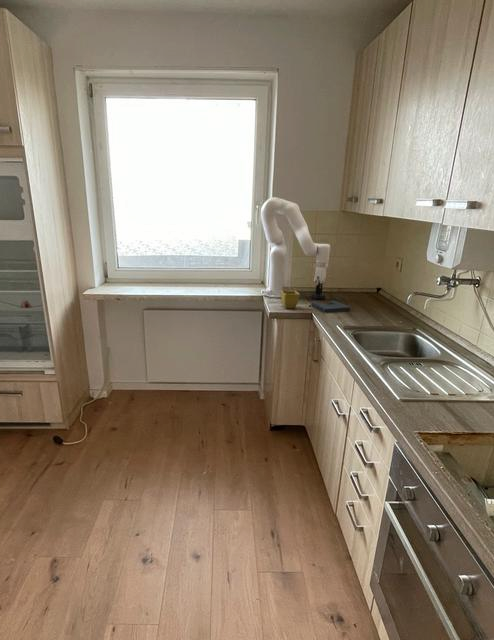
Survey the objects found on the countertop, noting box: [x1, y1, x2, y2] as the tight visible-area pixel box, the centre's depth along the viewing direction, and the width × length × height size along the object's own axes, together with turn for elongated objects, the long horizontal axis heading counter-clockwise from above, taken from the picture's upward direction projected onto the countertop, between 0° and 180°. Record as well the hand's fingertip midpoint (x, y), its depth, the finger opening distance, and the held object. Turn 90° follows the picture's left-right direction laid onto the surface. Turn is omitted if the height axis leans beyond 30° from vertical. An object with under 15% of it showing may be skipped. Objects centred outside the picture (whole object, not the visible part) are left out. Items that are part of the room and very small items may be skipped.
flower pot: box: [280, 290, 301, 309], centre depth 242 cm, size 9×9×9 cm
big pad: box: [311, 300, 351, 313], centre depth 243 cm, size 16×16×2 cm
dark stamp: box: [310, 293, 326, 300], centre depth 263 cm, size 6×6×8 cm
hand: (318, 293), depth 264 cm, fingers closed on dark stamp, 2 cm apart
